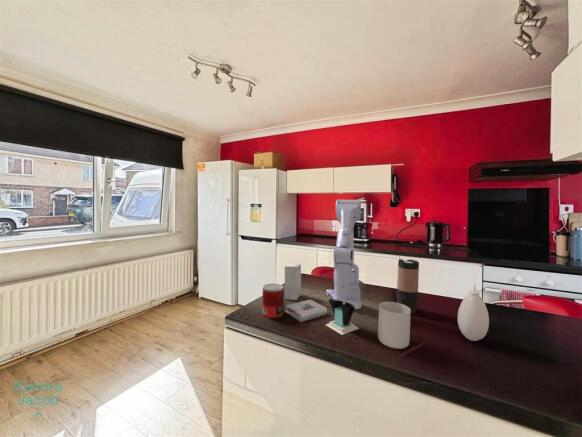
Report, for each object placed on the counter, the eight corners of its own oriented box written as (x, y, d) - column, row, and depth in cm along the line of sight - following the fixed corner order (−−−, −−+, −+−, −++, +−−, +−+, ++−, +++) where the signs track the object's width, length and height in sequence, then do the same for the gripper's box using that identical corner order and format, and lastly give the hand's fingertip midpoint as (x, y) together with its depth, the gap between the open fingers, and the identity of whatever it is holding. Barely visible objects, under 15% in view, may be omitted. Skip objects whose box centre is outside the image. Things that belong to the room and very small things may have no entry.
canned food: (280, 320, 90) (281, 290, 90) (259, 318, 92) (259, 288, 91) (285, 312, 98) (286, 284, 97) (265, 310, 100) (266, 282, 99)
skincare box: (297, 300, 110) (297, 267, 109) (283, 299, 111) (284, 266, 110) (301, 294, 118) (301, 262, 117) (288, 293, 119) (289, 261, 118)
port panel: (310, 306, 104) (310, 299, 103) (326, 315, 95) (326, 307, 95) (285, 313, 97) (285, 305, 97) (300, 323, 89) (300, 315, 88)
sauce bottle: (451, 332, 84) (454, 279, 83) (475, 333, 84) (478, 280, 83) (467, 345, 76) (470, 287, 75) (493, 346, 76) (497, 287, 75)
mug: (411, 353, 72) (413, 315, 71) (378, 348, 74) (379, 311, 73) (405, 333, 83) (406, 300, 82) (376, 329, 86) (377, 297, 85)
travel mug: (412, 316, 96) (414, 264, 95) (392, 309, 102) (394, 260, 101) (420, 310, 101) (422, 261, 100) (401, 304, 107) (403, 258, 106)
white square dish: (341, 320, 91) (342, 316, 91) (358, 330, 85) (359, 325, 85) (325, 326, 87) (325, 321, 87) (341, 336, 80) (341, 331, 80)
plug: (341, 322, 88) (342, 306, 88) (349, 326, 85) (349, 309, 85) (334, 325, 86) (334, 308, 86) (341, 329, 83) (342, 311, 83)
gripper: (319, 278, 89) (319, 316, 90) (350, 291, 77) (349, 334, 77) (334, 276, 93) (333, 312, 93) (366, 287, 81) (364, 328, 81)
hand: (341, 322), depth 86 cm, fingers closed on plug, 3 cm apart
